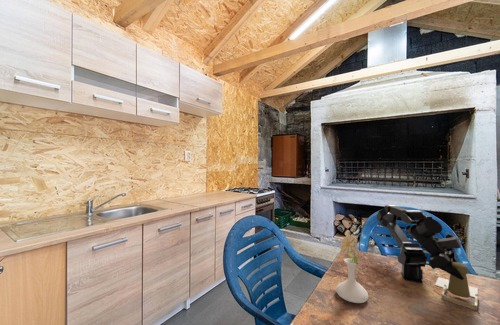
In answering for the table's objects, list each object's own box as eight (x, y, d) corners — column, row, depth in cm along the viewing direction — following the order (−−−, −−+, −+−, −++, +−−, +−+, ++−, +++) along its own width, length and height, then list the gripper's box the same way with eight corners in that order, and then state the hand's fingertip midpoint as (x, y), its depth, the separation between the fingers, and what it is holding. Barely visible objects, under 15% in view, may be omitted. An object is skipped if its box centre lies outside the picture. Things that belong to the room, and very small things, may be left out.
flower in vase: (334, 286, 89) (333, 226, 89) (364, 290, 85) (363, 228, 86) (338, 306, 76) (337, 237, 76) (374, 312, 73) (372, 239, 73)
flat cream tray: (477, 310, 73) (477, 305, 73) (441, 298, 80) (441, 294, 80) (477, 299, 79) (477, 294, 79) (444, 288, 86) (444, 284, 86)
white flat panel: (477, 298, 79) (477, 298, 79) (435, 285, 88) (435, 284, 88) (477, 289, 85) (477, 288, 85) (438, 277, 94) (438, 276, 94)
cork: (472, 299, 75) (472, 269, 75) (450, 294, 78) (449, 264, 78) (467, 290, 80) (466, 262, 80) (445, 286, 84) (445, 258, 84)
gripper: (439, 234, 76) (485, 276, 68) (447, 223, 88) (487, 258, 80) (413, 249, 82) (452, 290, 74) (423, 237, 94) (458, 271, 86)
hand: (463, 276), depth 78 cm, fingers closed on cork, 5 cm apart
